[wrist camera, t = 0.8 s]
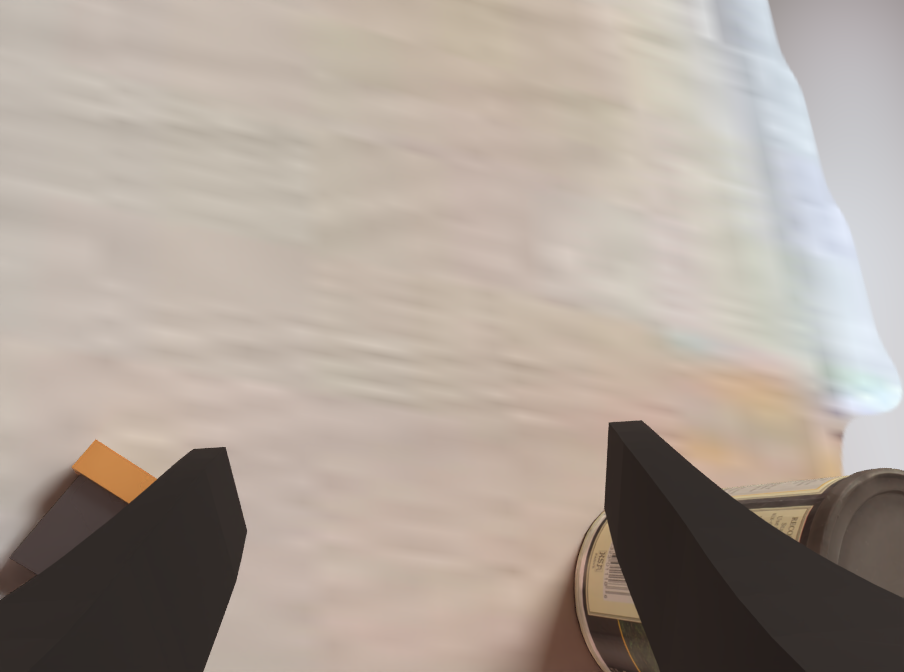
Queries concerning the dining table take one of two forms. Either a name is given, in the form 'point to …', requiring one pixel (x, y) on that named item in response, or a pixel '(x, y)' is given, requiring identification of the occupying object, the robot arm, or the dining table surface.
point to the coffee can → (783, 506)
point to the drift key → (83, 506)
